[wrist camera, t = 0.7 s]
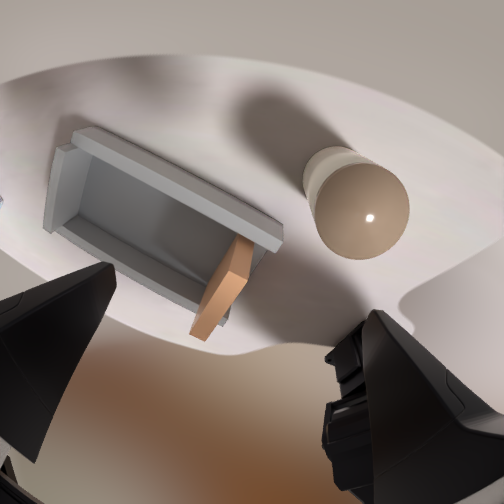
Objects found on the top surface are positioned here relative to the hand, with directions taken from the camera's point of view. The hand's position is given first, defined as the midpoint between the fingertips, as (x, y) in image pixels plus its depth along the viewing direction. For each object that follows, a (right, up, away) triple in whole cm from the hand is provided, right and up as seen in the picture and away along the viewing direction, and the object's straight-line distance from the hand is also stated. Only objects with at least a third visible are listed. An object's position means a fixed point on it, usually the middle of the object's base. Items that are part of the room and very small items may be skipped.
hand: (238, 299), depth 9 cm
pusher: (-1, +1, +13) cm, 13 cm away
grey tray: (-7, +4, +12) cm, 15 cm away
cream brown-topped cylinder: (+7, +7, +10) cm, 14 cm away
